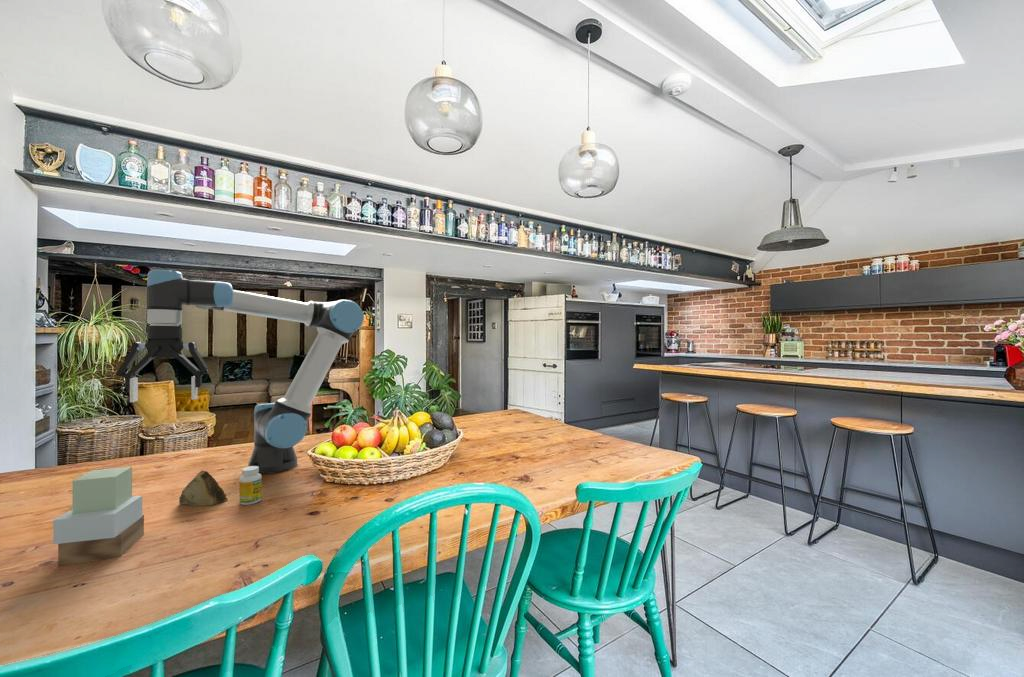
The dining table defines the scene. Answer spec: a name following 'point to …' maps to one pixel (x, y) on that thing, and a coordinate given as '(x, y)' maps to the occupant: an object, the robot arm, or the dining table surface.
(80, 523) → the tower top block
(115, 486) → the green cube
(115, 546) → the tower base block
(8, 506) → the dining table surface
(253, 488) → the supplement bottle
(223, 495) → the rock
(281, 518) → the dining table surface
